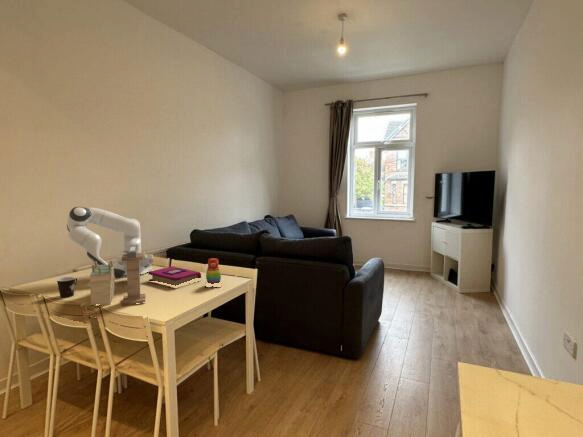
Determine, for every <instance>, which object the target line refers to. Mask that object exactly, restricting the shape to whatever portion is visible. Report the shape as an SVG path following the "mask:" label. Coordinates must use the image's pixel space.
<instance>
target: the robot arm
mask: <svg viewBox="0 0 583 437" xmlns="http://www.w3.org/2000/svg"><path fill="white" fill-rule="evenodd" d="M88 224H93V225H97V226H100V227H103V228H105V229H109V230H113V231H115V232H118V233H120V234H122V235H123V250H122V251H121V252H120V253H119V254H118V256H117V257H116V259H115V260H114V261H112V263H113V265H114V279H116V280H117V279H118V280H119V279H122V278H123V277H125V276H126V277H127V265H126V261H122V256H123V254H127V252H128V250H129V247H130V245H138V252H137V253H143V260H139V268H140V274H144V273H146V272H148V270H149V269H152V268H153V267H152V264H153V262H154V254H147V253H144V252H142V239H141V238H142V236H141V235H142V234H141V232H142V231H141V223H140V221H139V220H137V218H129V217H125V216H122V215H120V214H117V213H115V212H112V211H109V210H105V209H102V208H97V207H90V206H89V207H84V206H74V207H73V208H72V209H71V210H70V211H69V215H68V217H67V224H66V229H67V231H68V237H69V238H70V240H72V241H73V242H74V243H75V244H77V245H79V246H81V247H82V248H83V249H84V250H86V256H87V257H88V258H89V259H90V260H91V261H93V263H94V262H95V261H97V265H108V264H109V262H107V261H105V260H104V259H103V258H102V257H101V256H100V253H101V252H100V251H101V249H102V242H103V241H102V238H101V236H100V235H99V234H97V233H96V232H95V231H92V230H91V229H88V228H87V226H88ZM144 275H145V274H144Z"/></svg>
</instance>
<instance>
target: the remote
mask: <svg viewBox="0 0 583 437" xmlns="http://www.w3.org/2000/svg"><path fill="white" fill-rule="evenodd" d="M137 252H138V245H130V247H129V250H128V252H127V255H128V258H136V256H137Z"/></svg>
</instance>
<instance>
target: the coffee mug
mask: <svg viewBox="0 0 583 437" xmlns="http://www.w3.org/2000/svg"><path fill="white" fill-rule="evenodd" d="M56 282H57V287H58V291H59V296H60V298H61V299H67V298H72V297H74V295H75V287H76V285H77V283H78V278H76V277H74V276H67V277H65V276H64V277H60V278H58V279H57V280H56Z"/></svg>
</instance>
